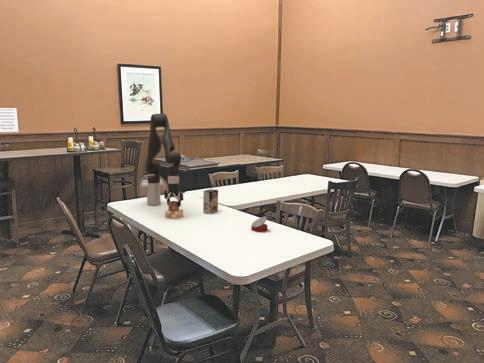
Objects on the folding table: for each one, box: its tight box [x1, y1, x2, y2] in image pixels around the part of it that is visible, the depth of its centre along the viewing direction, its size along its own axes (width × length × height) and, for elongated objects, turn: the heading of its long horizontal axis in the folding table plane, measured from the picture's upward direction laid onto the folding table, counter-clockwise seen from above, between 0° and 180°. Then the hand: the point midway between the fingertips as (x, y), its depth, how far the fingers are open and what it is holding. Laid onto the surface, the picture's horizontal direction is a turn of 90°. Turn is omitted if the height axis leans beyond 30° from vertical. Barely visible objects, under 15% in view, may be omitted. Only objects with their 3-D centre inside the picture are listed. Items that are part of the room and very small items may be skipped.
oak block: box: [164, 208, 184, 220], centre depth 276 cm, size 9×9×5 cm
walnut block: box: [168, 200, 180, 212], centre depth 275 cm, size 5×5×6 cm
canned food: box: [250, 216, 268, 233], centre depth 249 cm, size 11×10×10 cm
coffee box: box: [202, 189, 219, 215], centre depth 290 cm, size 9×6×16 cm
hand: (173, 205), depth 275 cm, fingers open, 8 cm apart
